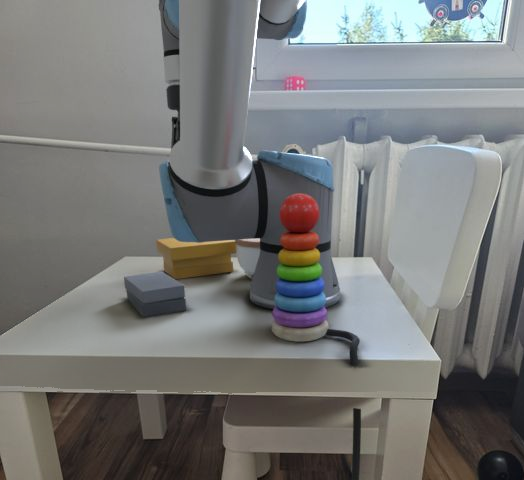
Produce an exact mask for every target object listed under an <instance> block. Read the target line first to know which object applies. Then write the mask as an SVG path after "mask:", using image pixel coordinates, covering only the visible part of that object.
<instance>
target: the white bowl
mask: <svg viewBox="0 0 524 480" xmlns="http://www.w3.org/2000/svg"><path fill="white" fill-rule="evenodd" d="M235 243H236V253H235V254H236V258H237V262H238V265H239V267H240V268H241V270H242V271H243V273H245V274H246V275H247V278H249V279H251V276H252V275H254V272H255V268H256V265H257V262H258V258H259V255H260V238H254V239H239V240H235Z"/></svg>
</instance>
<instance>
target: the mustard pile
mask: <svg viewBox="0 0 524 480" xmlns="http://www.w3.org/2000/svg"><path fill="white" fill-rule="evenodd" d="M162 259H163V260H162V261H163V262H162V263H163V272H164V273H165V274H167V275H168V276H170V277H172V278H173V279H175V280H180V279H188V278H194V277H196V278H197V277H202V276H210V275H218V274H225V273H232V272H234V262H233V261H232V254H225V255H216V256H208V257H199V258H190V259H182V260H173V261H171V260H170V259H168V258H167V257H165V256H164V255H162Z"/></svg>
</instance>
